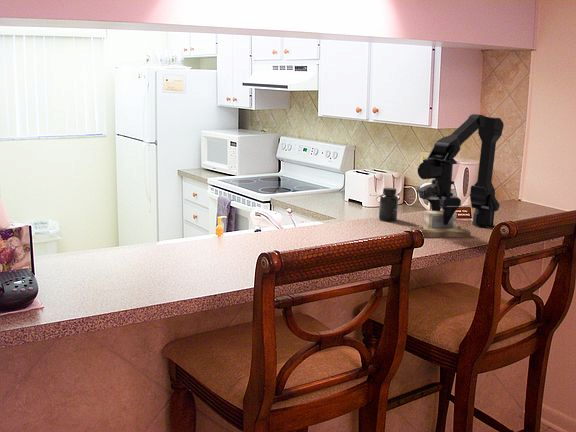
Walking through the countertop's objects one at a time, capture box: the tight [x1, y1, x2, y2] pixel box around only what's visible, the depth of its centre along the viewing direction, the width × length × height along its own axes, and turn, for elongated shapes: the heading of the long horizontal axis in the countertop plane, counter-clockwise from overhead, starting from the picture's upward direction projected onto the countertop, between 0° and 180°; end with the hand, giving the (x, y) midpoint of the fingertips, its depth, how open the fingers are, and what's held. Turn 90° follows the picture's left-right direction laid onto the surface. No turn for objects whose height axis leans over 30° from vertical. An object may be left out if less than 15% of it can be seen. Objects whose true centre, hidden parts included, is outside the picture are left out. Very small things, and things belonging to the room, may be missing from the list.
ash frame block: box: [423, 210, 458, 229], centre depth 235 cm, size 10×5×6 cm, turn 100°
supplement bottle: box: [378, 187, 399, 222], centre depth 256 cm, size 7×7×12 cm
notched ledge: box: [409, 225, 472, 238], centre depth 235 cm, size 18×10×2 cm, turn 100°
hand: (440, 222), depth 235 cm, fingers open, 9 cm apart
